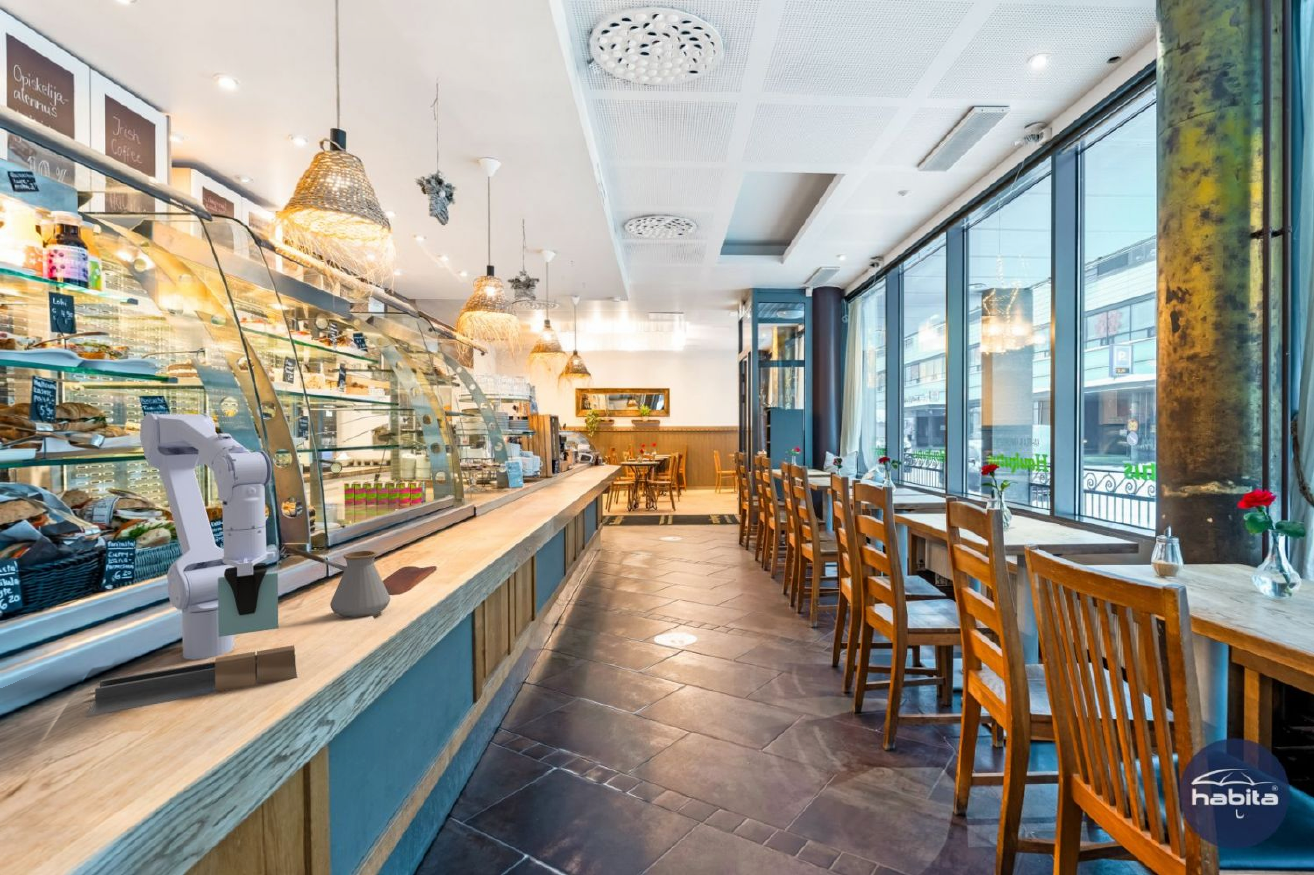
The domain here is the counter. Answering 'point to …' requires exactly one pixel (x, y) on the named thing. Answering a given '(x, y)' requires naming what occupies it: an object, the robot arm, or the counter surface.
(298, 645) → the counter surface
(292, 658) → the offcut
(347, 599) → the coffee pot
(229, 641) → the robot arm
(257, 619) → the teal slab
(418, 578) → the wooden tablet
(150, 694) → the rack
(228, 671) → the offcut
